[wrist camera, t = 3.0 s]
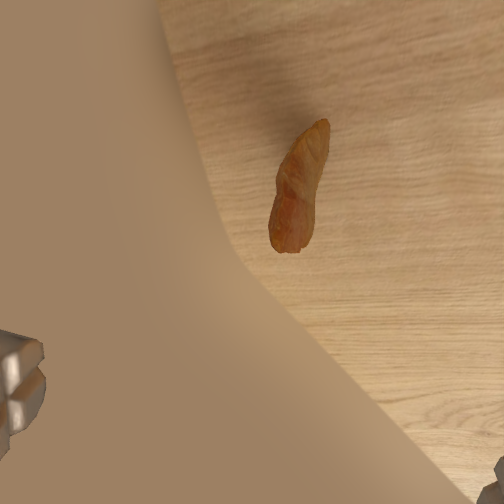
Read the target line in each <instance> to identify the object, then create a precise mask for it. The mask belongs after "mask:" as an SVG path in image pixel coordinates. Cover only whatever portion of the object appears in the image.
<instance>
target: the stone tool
mask: <svg viewBox="0 0 504 504" xmlns="http://www.w3.org/2000/svg"><path fill="white" fill-rule="evenodd" d="M329 140H330V124H329V122H328V119H326V118H325V119H321V120H318V121H316V122H315V123H314V124H313V126H312V127H311V128H310V129H308V130H307V131H305V132H304V133H303V134H301V135H300V136H299V137H298V138H297V139H296V141H295V142H294V143H293V144H292V146H291V148H290V150H289V152H288V153H287V155H286V156H285V158H284V160H283V162H282V163H281V165H280V167H279V171H278V173H277V176H276V187H277V195H276V197H275V200H274V204H273V207H272V211H271V214H270V219H269V224H268V229H269V236H270V242H271V245H272V247H273V248H274V249H275V250H276V251H277V252H278V253H284V252H287V253H300V250H301V248H305V247H306V246H307V245H308V243H309V241H310V239H311V237H312V235H313V230H314V224H315V196H316V190H317V187H318V183H319V180H320V178H321V175H322V172H323V167H324V164H325V162H326V159H327V155H328V152H329Z"/></svg>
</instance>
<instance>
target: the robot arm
mask: <svg viewBox="0 0 504 504" xmlns="http://www.w3.org/2000/svg"><path fill="white" fill-rule="evenodd" d="M43 359H44V351H43V343H41V342H40V341H38V340H37V339H33V338H29V337H26V336H22V335H18V334H15V333H11V332H7V331H4V330H0V460H1V459H2V457H3V456H4V455H5V454H6V453H7V451H8V450H9V447H10V443H9V442H10V436H12V435H14V434H16V433H19V432H21V431H23V430H25V429H26V428H27V427H28V426H29V425H30V423H31V422H32V421H33V420H34V418H35V417H36V416H37V414H38V411H39V409H40V407H41V405H42V403H43V400H44V396H45V391H46V377H45V376H44V375H43V373H42V372H41V370H40V369H39V368H38V365H39V363H40V362H41V361H42V360H43ZM494 472H495V474H496V477H497V480H498V481H496V482H494V483H492V484H490V485H488V486H485V487H483V490H482V492H481V494H480V496H479V498H478V500H477V504H504V456H503V457H501V458H500V459H499V461H498V462H497V464H496V466H495V468H494Z"/></svg>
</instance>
